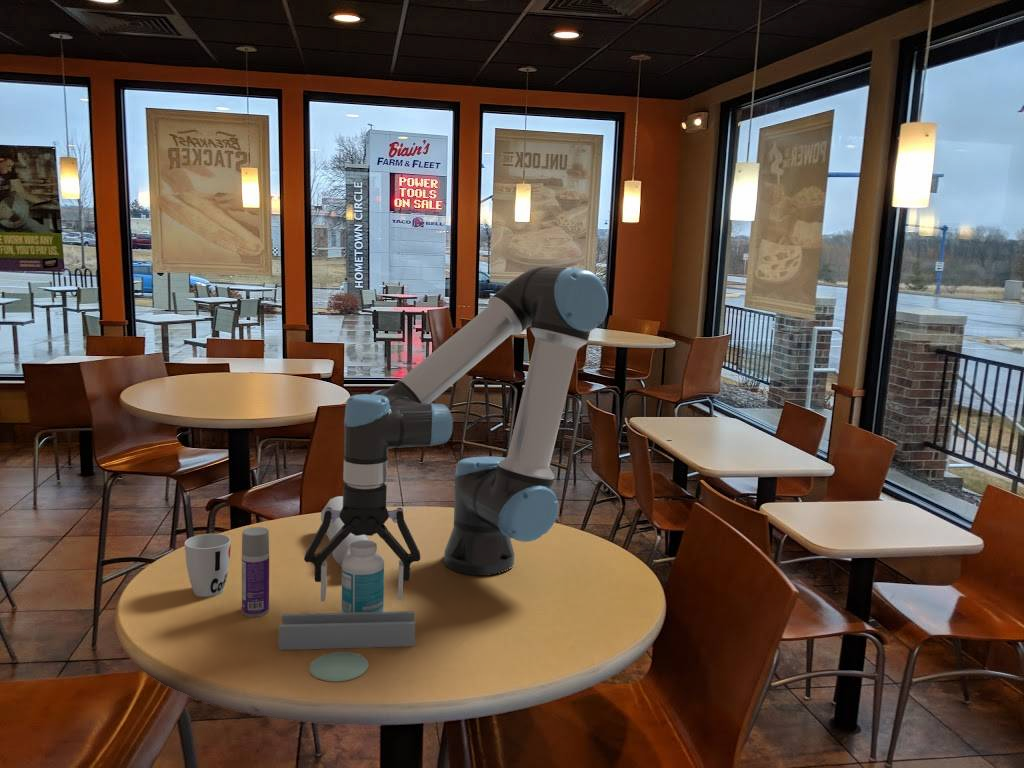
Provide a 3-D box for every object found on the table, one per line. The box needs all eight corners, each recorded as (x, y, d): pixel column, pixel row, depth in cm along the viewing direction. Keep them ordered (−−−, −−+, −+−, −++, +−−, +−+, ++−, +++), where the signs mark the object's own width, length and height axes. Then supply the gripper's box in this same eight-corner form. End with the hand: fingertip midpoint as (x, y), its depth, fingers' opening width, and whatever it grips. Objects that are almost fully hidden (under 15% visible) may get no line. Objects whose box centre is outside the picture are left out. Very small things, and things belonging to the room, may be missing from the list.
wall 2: (413, 632, 137) (414, 611, 136) (413, 635, 136) (414, 613, 135) (282, 636, 133) (282, 613, 133) (281, 638, 133) (282, 615, 132)
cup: (215, 602, 145) (215, 550, 143) (176, 597, 146) (175, 545, 145) (239, 585, 153) (239, 536, 151) (201, 580, 154) (201, 531, 153)
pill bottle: (389, 610, 145) (391, 540, 143) (374, 627, 138) (375, 554, 136) (351, 605, 147) (352, 535, 145) (334, 622, 139) (335, 548, 137)
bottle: (312, 518, 184) (323, 571, 156) (334, 486, 184) (350, 533, 156) (344, 537, 187) (361, 592, 159) (367, 505, 187) (387, 555, 159)
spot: (368, 652, 129) (368, 651, 129) (367, 680, 121) (367, 679, 121) (312, 653, 128) (312, 652, 128) (306, 682, 119) (306, 681, 119)
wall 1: (414, 643, 133) (415, 621, 132) (414, 646, 132) (415, 623, 132) (279, 647, 129) (279, 624, 129) (278, 650, 129) (278, 626, 128)
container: (274, 608, 144) (274, 529, 141) (258, 618, 139) (258, 537, 137) (252, 603, 145) (252, 525, 143) (236, 613, 141) (235, 533, 139)
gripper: (435, 478, 144) (430, 588, 147) (294, 476, 140) (293, 590, 143) (437, 489, 137) (432, 605, 140) (289, 488, 133) (287, 607, 136)
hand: (362, 598), depth 142 cm, fingers open, 13 cm apart
